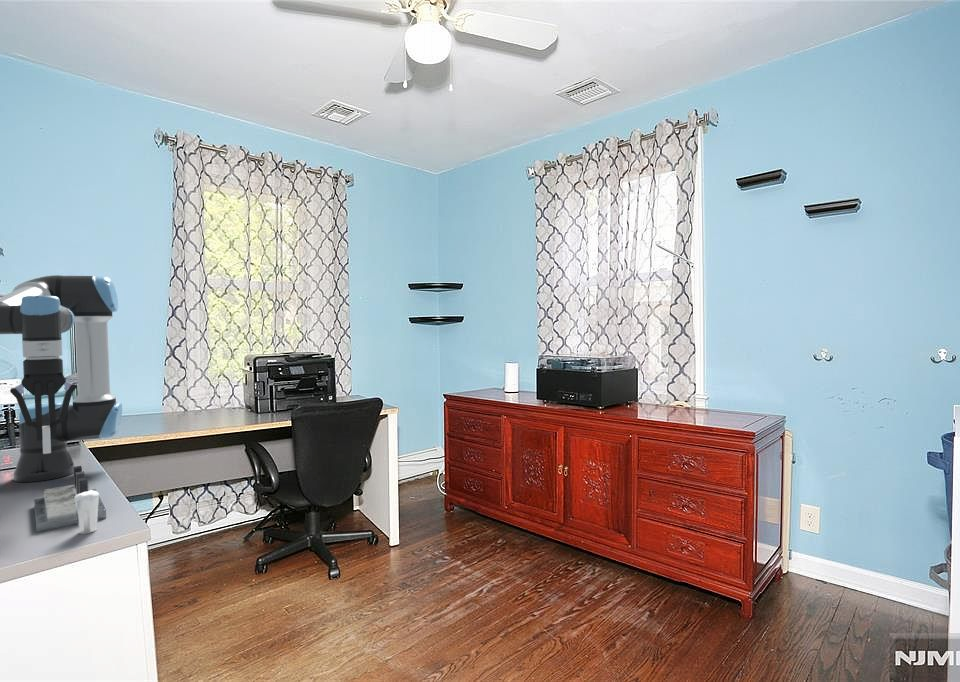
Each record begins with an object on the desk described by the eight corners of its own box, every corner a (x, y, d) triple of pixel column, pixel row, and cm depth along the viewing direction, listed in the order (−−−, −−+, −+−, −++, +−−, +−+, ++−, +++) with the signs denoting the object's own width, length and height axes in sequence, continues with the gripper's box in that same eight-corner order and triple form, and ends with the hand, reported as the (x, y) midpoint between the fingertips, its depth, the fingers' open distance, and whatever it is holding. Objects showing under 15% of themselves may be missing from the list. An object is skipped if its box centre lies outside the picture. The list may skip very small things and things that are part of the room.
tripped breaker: (76, 491, 134) (75, 472, 134) (84, 489, 135) (83, 471, 135) (77, 493, 132) (76, 474, 132) (85, 491, 134) (84, 473, 133)
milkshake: (82, 527, 121) (81, 485, 121) (105, 527, 121) (103, 484, 121) (66, 535, 117) (65, 491, 117) (89, 535, 117) (88, 490, 117)
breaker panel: (34, 507, 137) (33, 470, 137) (95, 496, 146) (94, 461, 146) (36, 532, 119) (35, 490, 119) (106, 517, 128) (104, 478, 128)
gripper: (7, 360, 122) (11, 460, 123) (77, 357, 131) (81, 450, 131) (7, 358, 128) (12, 454, 128) (75, 356, 136) (78, 445, 137)
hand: (47, 452), depth 130 cm, fingers closed
